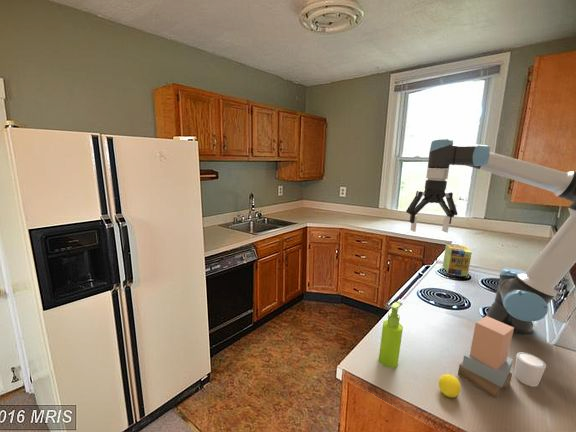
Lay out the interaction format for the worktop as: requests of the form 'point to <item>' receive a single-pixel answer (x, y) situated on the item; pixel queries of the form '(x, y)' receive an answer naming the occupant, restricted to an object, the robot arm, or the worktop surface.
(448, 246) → the protein box
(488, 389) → the tower base block
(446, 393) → the lemon
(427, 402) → the worktop surface
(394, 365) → the soap dispenser
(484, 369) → the tower top block
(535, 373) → the white cylinder
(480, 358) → the terracotta block
